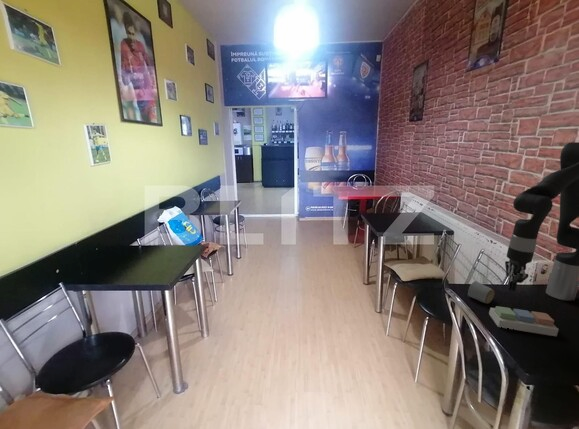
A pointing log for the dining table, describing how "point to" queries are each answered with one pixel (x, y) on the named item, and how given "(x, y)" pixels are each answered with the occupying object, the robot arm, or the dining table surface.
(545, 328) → the console
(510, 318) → the green button
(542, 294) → the dining table surface
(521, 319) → the slate button
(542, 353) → the dining table surface
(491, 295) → the grey cylinder
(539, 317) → the terracotta button
